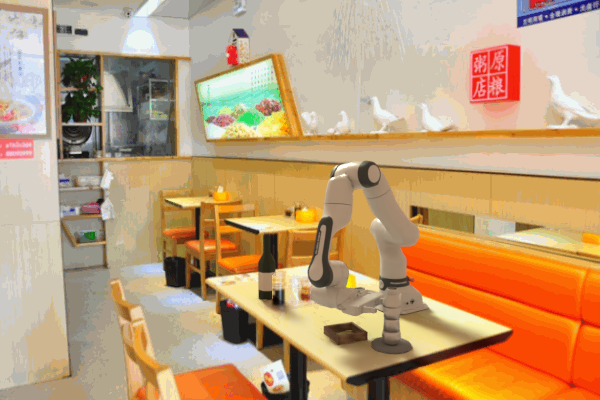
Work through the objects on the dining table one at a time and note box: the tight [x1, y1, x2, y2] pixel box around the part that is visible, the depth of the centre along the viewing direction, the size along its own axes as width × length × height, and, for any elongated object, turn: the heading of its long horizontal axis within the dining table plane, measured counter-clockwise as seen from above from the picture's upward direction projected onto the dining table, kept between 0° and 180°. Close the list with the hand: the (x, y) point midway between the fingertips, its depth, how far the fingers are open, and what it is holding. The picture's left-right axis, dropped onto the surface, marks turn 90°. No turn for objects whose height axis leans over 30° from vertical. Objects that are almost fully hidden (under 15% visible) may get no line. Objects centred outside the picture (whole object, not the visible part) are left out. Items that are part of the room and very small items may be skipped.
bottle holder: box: [323, 321, 369, 346], centre depth 198 cm, size 12×12×3 cm
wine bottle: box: [257, 232, 276, 301], centre depth 245 cm, size 8×8×30 cm
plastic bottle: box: [381, 287, 402, 345], centre depth 188 cm, size 6×7×20 cm
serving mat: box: [370, 336, 413, 355], centre depth 189 cm, size 14×14×1 cm
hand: (382, 307), depth 190 cm, fingers open, 8 cm apart
